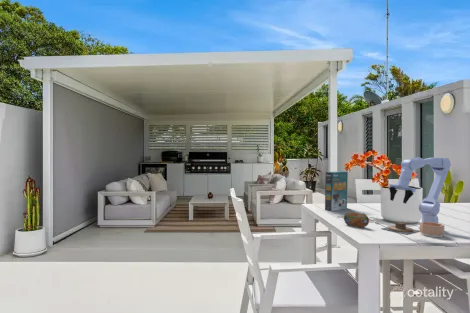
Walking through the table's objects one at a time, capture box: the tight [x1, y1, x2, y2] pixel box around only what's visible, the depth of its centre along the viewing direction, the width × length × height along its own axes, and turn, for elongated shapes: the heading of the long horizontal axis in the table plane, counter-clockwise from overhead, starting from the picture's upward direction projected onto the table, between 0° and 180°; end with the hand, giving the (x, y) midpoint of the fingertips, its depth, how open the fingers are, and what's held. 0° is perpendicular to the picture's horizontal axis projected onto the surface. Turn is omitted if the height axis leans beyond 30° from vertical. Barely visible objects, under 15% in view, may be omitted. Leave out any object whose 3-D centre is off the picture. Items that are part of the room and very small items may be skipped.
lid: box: [387, 221, 413, 232], centre depth 191 cm, size 13×13×4 cm
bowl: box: [419, 221, 445, 238], centre depth 181 cm, size 11×11×6 cm
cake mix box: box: [324, 170, 349, 212], centre depth 262 cm, size 22×6×30 cm, turn 130°
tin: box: [343, 211, 370, 229], centre depth 200 cm, size 15×3×8 cm, turn 45°
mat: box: [381, 226, 421, 236], centre depth 191 cm, size 15×15×1 cm
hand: (397, 201), depth 186 cm, fingers open, 7 cm apart
